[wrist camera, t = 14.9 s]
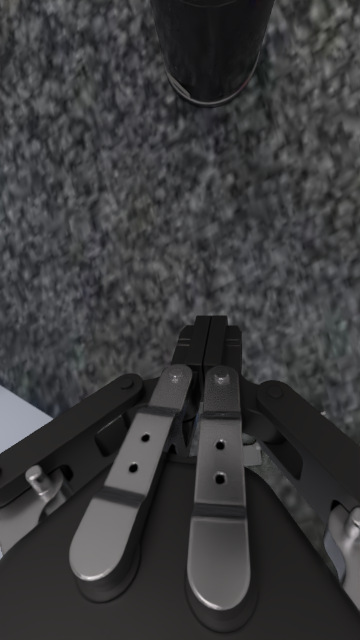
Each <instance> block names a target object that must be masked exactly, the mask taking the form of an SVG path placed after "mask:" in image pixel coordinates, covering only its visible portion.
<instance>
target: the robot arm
mask: <svg viewBox="0 0 360 640" xmlns="http://www.w3.org/2000/svg"><path fill="white" fill-rule="evenodd" d="M274 1H275V0H150V4H151V8H152V13H153V17H154V21H155V25H156V29H157V33H158V38H159V42H160V47H161V51H162V57H163V63H164V67H165V71H166V74H167V77H168V80H169V82H170V84H171V85H172V87H173V89H174V90H175V91H176V92H177V94H178V95H179V96H180V97H182V98H183V99H184V100H185V101H187V102H189V103H191V104H193V105H195V106H199V107H207V108H210V107H217V106H221V105H223V104H226V103H228V102H230V101H231V100H233V99H234V98H235V97H237V96H238V95H239V94H240V93H241V92H242V91H243V90H244V88H245V87H246V86H247V84H248V83H249V81H250V80H251V78H252V76H253V73H254V71H255V68H256V65H257V62H258V58H259V54H260V48H261V45H262V41H263V38H264V35H265V31H266V28H267V24H268V21H269V18H270V14H271V11H272V7H273V4H274ZM241 369H242V332H241V331H240V329H239V327H238V326H228V319H227V316H197V317H196V321H195V324H194V325H187V326H186V327H185V328H184V329H183V330H182V331H181V333H180V336H179V340H178V342H177V346H176V349H175V352H174V355H173V359H172V362H171V365H170V366H168V367H167V368H165V369H164V370H163V371H162V373H161V375H160V377H157V378H154V379H150V380H145V381H143V380H142V378H141V377H140V376H139V375H137V374H132V373H131V374H125V375H122V376H120V377H118V378H117V379H115V380H114V381H112V382H111V383H109V384H107V385H106V386H104V387H103V388H101V389H100V390H98V391H97V392H95V393H94V394H92V395H90V396H89V397H87V398H86V399H84V400H83V401H81V402H80V403H78V404H76V405H75V406H73V407H72V408H70V409H69V410H67V411H66V412H64V413H63V414H61V415H59V416H58V417H56V418H55V419H53V420H52V421H51V422H49V423H47V424H46V425H44V426H42V427H41V428H40V429H38V430H36V431H35V432H33V433H32V434H30V435H29V436H27V437H25V438H24V439H22V440H21V441H19V442H18V443H16V444H15V445H13V446H12V447H10V448H8V449H7V450H5V451H4V452H2V453H1V454H0V547H1V551H2V554H3V557H2V558H1V560H0V640H360V447H359V446H358V445H357V444H356V443H355V442H354V441H352V440H351V439H350V438H349V437H348V436H347V435H345V434H344V433H343V432H342V431H341V430H340V429H338V428H337V427H336V426H335V425H334V424H333V423H331V422H330V421H329V420H328V419H327V418H326V417H324V416H323V415H322V414H321V413H320V412H319V411H317V410H316V409H315V408H314V407H313V406H312V405H310V404H309V403H308V402H307V401H306V400H305V399H303V398H302V397H301V396H300V395H299V394H298V393H296V392H295V391H294V390H293V389H292V388H291V387H289V386H288V385H287V384H285V383H283V382H280V381H275V380H270V381H265V382H263V383H261V384H260V385H257V384H254V383H251V382H249V381H247V380H246V379H245V378H244V377H243V376H242V374H241ZM200 402H203V414H201V416H200V425H199V439H198V452H197V456H192V457H189V453H190V449H191V445H192V441H193V437H194V433H195V430H196V426H197V422H198V418H199V412H198V411H199V406H200ZM120 415H121V417H120V418H119V419H117V420H116V421H114V422H113V423H112V424H110V425H109V426H108V427H106V428H105V429H103V430H102V431H101V432H99V433H98V434H96V433H97V432H98V431H99V430H100V429H101V428H103V427H104V426H106V425H107V424H108V423H110V422H111V421H113V420H114V419H115V418H117V417H118V416H120ZM242 433H245V434H247V435H250V436H252V437H255V438H256V440H257V443H258V444H259V445H260V447H261V448H262V449H263V450H264V451H265V452H266V454H267V455H268V456H269V457H270V458H271V460H272V461H273V462H274V463H275V464H276V466H277V467H278V468H279V469H280V470H281V472H282V473H283V474H284V475H285V476H286V477H287V479H288V480H289V481H290V482H291V483H292V485H293V486H294V487H295V488H296V489H297V491H298V492H299V493H300V494H301V495H302V497H303V498H304V499H305V500H306V501H307V502H308V504H309V505H310V506H311V507H312V508H313V510H314V511H315V512H316V513H317V514H318V516H319V517H320V518H321V519H322V520H323V521H324V523H325V524H326V527H325V531H324V536H323V537H324V545H325V548H326V551H327V553H328V555H329V556H330V558H331V559H332V561H333V563H334V564H335V567H336V569H337V572H338V575H339V581H338V580H337V579H336V577H335V576H334V575H333V573H332V572H331V570H330V569H329V568H328V566H327V565H326V563H325V562H324V561H323V559H322V558H321V556H320V555H319V554H318V552H317V551H316V550H315V548H314V547H313V545H312V544H311V543H310V541H309V540H308V538H307V537H306V536H305V534H304V533H303V532H302V530H301V529H300V527H299V526H298V525H297V523H296V522H295V520H294V519H293V518H292V516H291V515H290V514H289V512H288V511H287V509H286V508H285V507H284V505H283V504H282V502H281V501H280V500H279V498H278V497H277V495H276V494H275V493H274V491H273V490H272V489H271V487H270V486H269V485H268V484H267V483H266V482H265V481H264V479H262V478H261V477H260V476H259V475H258V474H256V473H255V472H253V471H252V470H250V469H248V468H246V467H244V456H243V439H242Z"/></svg>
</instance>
